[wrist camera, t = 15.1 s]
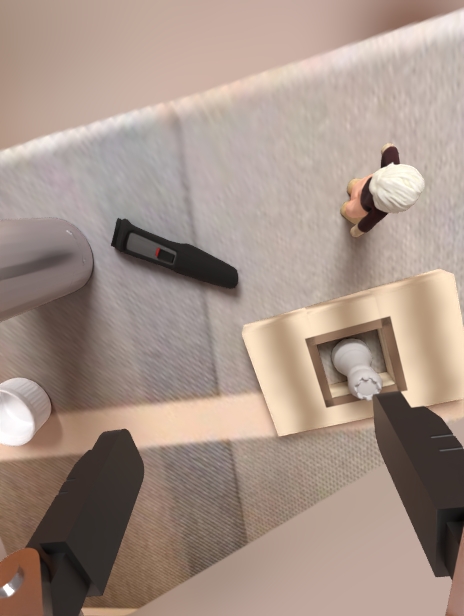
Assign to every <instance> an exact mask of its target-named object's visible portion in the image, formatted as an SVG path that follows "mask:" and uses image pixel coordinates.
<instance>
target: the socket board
mask: <svg viewBox="0 0 464 616" xmlns="http://www.w3.org/2000/svg"><path fill="white" fill-rule="evenodd" d="M374 329H377V332H378V336H379V340H380V344H381V348H382V352H383V356H384V360H385V364H386V368H387V372H383V373H378V374H379V375H380V377H381V378H382V382H383V386H382V390H381V391H380V392H379V393H385V392H392V391H400V392H401V393H402V394H403V395H404V397H405V399H406V400H407V402H408V403H409V405H410V406H411V408H412V407H419V406H430V405H435V404H440V403H444V402H449V401H454V400H459V399H464V328H463V322H462V317H461V311H460V305H459V300H458V294H457V289H456V283H455V277H454V274H452V273H449V272H446V271H444V270H441V269H437V270H433V271H430V272H426V273H423V274H420V275H416V276H413V277H409V278H406V279H402V280H399V281H395V282H392V283H388V284H385V285H381V286H378V287H374V288H371V289H367V290H364V291H360V292H357V293H353V294H350V295H346V296H343V297H340V298H336V299H333V300H329V301H326V302H322V303H319V304H315V305H312V306H308V307H305V308H301V309H298V310H294V311H291V312H287V313H284V314H280V315H277V316H273V317H270V318H267V319H263V320H260V321H256V322H253V323H249V324H246V325H244V327H243V331H242V336H243V339H244V342H245V345H246V348H247V350H248V353H249V356H250V359H251V361H252V364H253V367H254V370H255V372H256V375H257V378H258V381H259V384H260V386H261V389H262V392H263V395H264V397H265V400H266V403H267V406H268V408H269V411H270V414H271V417H272V420H273V422H274V425H275V428H276V431H277V433H278V436H283V435H288V434H293V433H298V432H303V431H308V430H313V429H318V428H322V427H327V426H332V425H337V424H342V423H347V422H352V421H357V420H361V419H366V418H371V417H374V412H373V399H372V401H367V400H366V399H362V400H361V399H359V398H357V397H355V396H354V395H352V393H351V392H350V391H349V387H348V381H344V382H340V383H335V384H331V385H328V381H327V378H326V375H325V371H324V368H323V365H322V361H321V358H320V355H319V351H318V348H317V344H321V343H324V342H328V341H332V340H336V339H340V338H344V337H347V336H351V335H355V334H359V333H363V332H367V331H370V330H374Z"/></svg>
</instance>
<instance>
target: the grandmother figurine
mask: <svg viewBox="0 0 464 616" xmlns="http://www.w3.org/2000/svg"><path fill="white" fill-rule="evenodd" d="M381 154H382V159H381V169H379V170H378V171H377V172H375V173H374V174H372V175H369V176H367V177H365V178H364V179H353V180H351V181H350V182H349V184H348V187H347V191H348V193H349V194H350V195H351V201H347V202H345V203H344V204H343V206H342V207H341V214H342V215H343V216H344V217H345V218H347V219H348V220H349V221H350V222H352V223H353V224H357V225H356V226H354V227H353V228H352V229H351V235H352V236H353V237H359V236H361V234H364V233H366V232H368V231H369V230H371V229H372V228H373V227H374V225H376V224H377V223H378V222H379V221H380V220H382V219H383V218H384V217H385V216H386V215H387V214H388V213H399V212H403V211H406V210H407V209H409V208H410V207H411V206H413V205H414V204H415V202H416V201H417V200H418V197H419V196H420V194H421V193H422V191H423V189H424V180H423V177H422V176H421V174H420V173H419V172H418V171H417V170H416V169H415V168H414V167H412V166H409V165H403V164H400V161H399V153H398V150H397V148H396V147H394V145H393V144H390V143H388V144H386V145H384V146H383V148H382V150H381Z"/></svg>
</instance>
